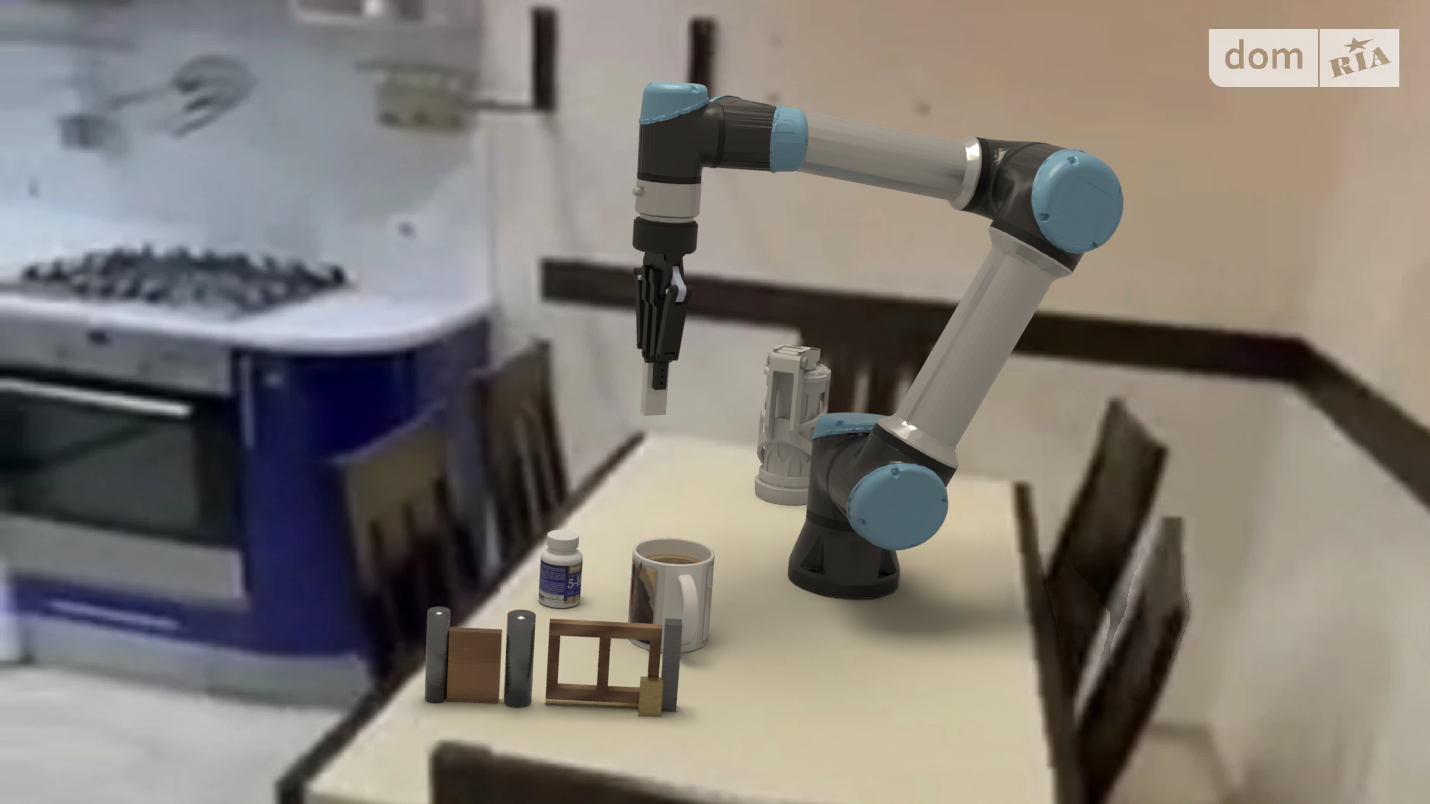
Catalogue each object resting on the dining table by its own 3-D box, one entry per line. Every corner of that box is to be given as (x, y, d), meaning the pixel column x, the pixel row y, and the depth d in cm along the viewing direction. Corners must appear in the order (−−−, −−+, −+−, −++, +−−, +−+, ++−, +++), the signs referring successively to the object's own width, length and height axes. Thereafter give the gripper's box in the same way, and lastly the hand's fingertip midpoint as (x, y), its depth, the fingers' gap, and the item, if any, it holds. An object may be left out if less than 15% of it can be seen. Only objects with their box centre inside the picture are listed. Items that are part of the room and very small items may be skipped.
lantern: (764, 482, 257) (777, 331, 251) (826, 493, 254) (841, 340, 248) (739, 503, 245) (752, 345, 239) (804, 514, 242) (818, 355, 236)
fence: (656, 701, 173) (662, 616, 171) (656, 713, 171) (663, 626, 168) (426, 691, 172) (429, 605, 169) (423, 703, 169) (426, 615, 166)
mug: (724, 632, 194) (731, 547, 192) (691, 667, 183) (698, 577, 180) (644, 616, 197) (650, 532, 195) (607, 650, 186) (612, 561, 184)
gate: (545, 699, 170) (549, 622, 168) (546, 694, 171) (550, 618, 169) (656, 704, 171) (662, 628, 169) (656, 700, 172) (662, 624, 170)
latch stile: (675, 704, 173) (681, 619, 171) (676, 717, 170) (683, 630, 168) (637, 703, 173) (643, 617, 170) (638, 715, 170) (644, 628, 167)
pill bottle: (573, 611, 197) (577, 544, 195) (533, 605, 198) (536, 538, 196) (585, 597, 202) (589, 531, 200) (545, 591, 203) (549, 525, 201)
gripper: (616, 208, 188) (605, 401, 194) (656, 225, 177) (643, 429, 182) (675, 209, 191) (662, 399, 197) (718, 226, 180) (703, 426, 186)
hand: (653, 413), depth 190 cm, fingers closed
